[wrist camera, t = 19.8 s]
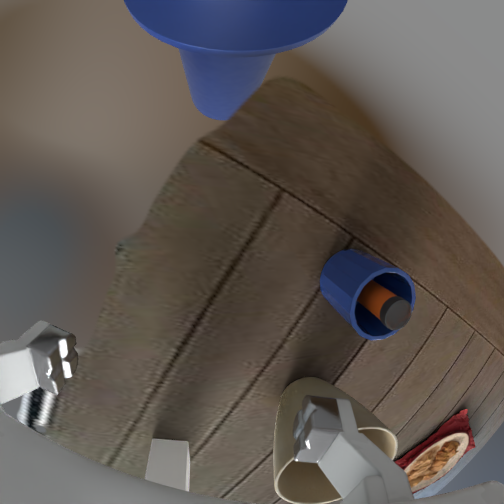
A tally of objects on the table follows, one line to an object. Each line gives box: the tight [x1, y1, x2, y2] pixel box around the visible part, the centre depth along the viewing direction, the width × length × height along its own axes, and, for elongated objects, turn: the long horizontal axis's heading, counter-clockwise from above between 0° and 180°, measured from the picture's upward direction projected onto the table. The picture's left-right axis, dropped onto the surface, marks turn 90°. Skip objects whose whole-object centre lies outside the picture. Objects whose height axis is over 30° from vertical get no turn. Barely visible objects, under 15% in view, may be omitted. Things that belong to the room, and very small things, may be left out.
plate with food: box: [395, 409, 475, 494], centre depth 51 cm, size 24×26×3 cm
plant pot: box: [273, 377, 398, 504], centre depth 35 cm, size 15×15×16 cm
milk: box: [145, 438, 190, 491], centre depth 32 cm, size 6×6×22 cm
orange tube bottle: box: [357, 280, 412, 330], centre depth 33 cm, size 3×3×12 cm
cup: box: [320, 249, 416, 340], centre depth 34 cm, size 8×8×10 cm
